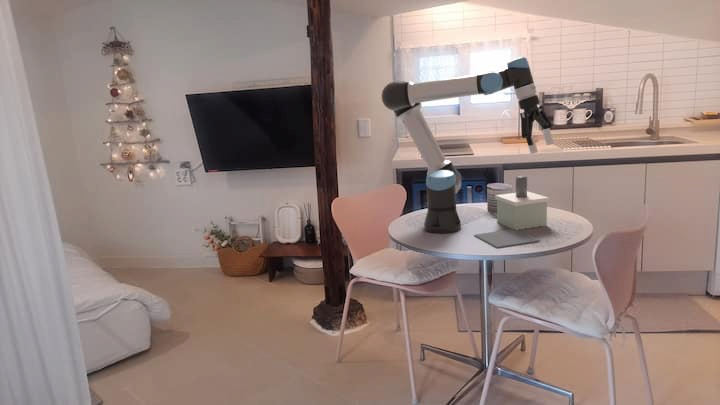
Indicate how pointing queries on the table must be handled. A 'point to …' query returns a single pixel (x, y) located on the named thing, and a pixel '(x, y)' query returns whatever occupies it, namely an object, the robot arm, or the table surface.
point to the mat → (506, 238)
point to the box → (522, 215)
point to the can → (496, 190)
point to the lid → (521, 194)
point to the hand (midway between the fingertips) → (542, 148)
